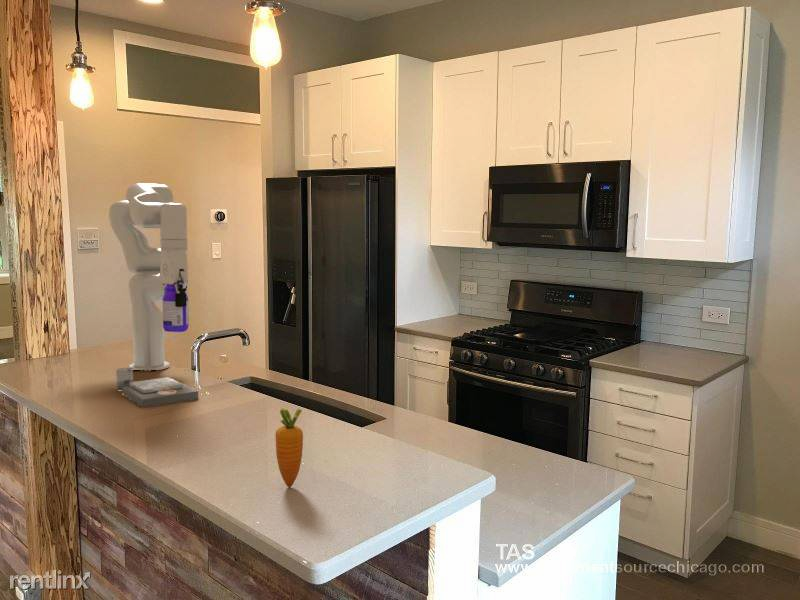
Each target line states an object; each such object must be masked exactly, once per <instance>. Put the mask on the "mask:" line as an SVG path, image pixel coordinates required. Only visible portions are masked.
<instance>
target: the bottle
mask: <svg viewBox="0 0 800 600" xmlns="http://www.w3.org/2000/svg"><path fill="white" fill-rule="evenodd" d="M177 283H179V282H177ZM178 287H180V286H178ZM165 289H166V292H165V294H164V296H163V301H162V314H163V328H164V332H167V333H171V332H172V333H183V332H186V331H187V330H188V329H189V327H190V326H189V325H190V324H189V323H190V319H189V318H190V317H189V316H190V315H189V312H190V311H189V310H190V309H189V296H188V294H187V293H186V302H187V306H186V307H176V306H175V293H176V289H175V285H174V284H172V285H171V284H167V285H166V287H165Z"/></svg>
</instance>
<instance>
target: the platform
mask: <svg viewBox="0 0 800 600" xmlns="http://www.w3.org/2000/svg"><path fill="white" fill-rule="evenodd" d="M175 380H176V379H173V378H171V377H168V376H166V377H158V378H153V379H152V378H151V379H145V380H138V381H133V382H130V386H131V387H133V388H135V389H136V390H138V391H140V392H142V393H150V392H157V391H161V390H171V389H178V388H183V384H184V383H182V382H180V381H178V380H176V381H175ZM177 381H178V382H177Z"/></svg>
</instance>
